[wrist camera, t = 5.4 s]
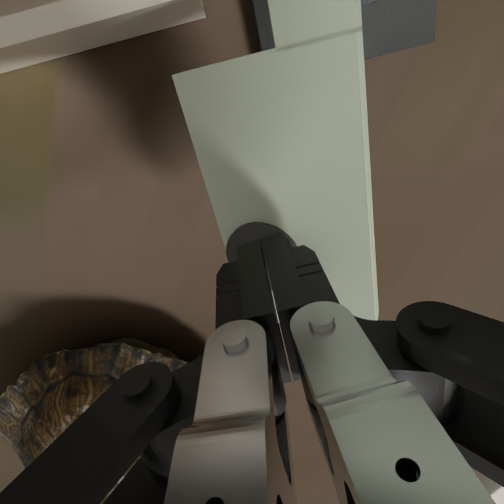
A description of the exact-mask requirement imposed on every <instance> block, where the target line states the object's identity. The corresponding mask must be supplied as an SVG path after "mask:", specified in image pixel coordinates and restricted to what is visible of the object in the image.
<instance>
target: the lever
mask: <svg viewBox="0 0 504 504" xmlns="http://www.w3.org/2000/svg"><path fill="white" fill-rule="evenodd" d="M268 6H269V12H270V18H271V24H272V30H273V36H274V42H275V48H272V49H268V50H264V51H261V52H257V53H253V54H249V55H245V56H241V57H238V58H234V59H230V60H226V61H222V62H218V63H215V64H211V65H207V66H203V67H199V68H195V69H191V70H188V71H184V72H181V73H177V74H174V75H172V78H173V81H174V85H175V88H176V91H177V94H178V98H179V101H180V104H181V107H182V110H183V114H184V117H185V120H186V123H187V127H188V130H189V133H190V136H191V140H192V143H193V146H194V149H195V152H196V156H197V159H198V162H199V165H200V169H201V172H202V175H203V178H204V182H205V185H206V188H207V191H208V194H209V198H210V201H211V204H212V207H213V211H214V214H215V217H216V220H217V224H218V227H219V230H220V233H221V236H222V240H223V243H224V246H225V249H226V255H227V259H228V261H229V262H233V261H238V260H237V248H236V245H237V244H242V243H246V242H250V241H254V240H259V242H260V246H261V250H262V254H263V258H264V262H265V266H266V270H267V274H268V278H269V273H268V269H267V264H266V260H265V255H264V251H263V246H262V242H261V239H262V238H267V237H271V236H275V235H279V234H284V236H285V239H286V242H287V245H288V247H289V248H293V247H297V246H301V245H305V246H307V247H308V248H310V249H311V250H313V251H315V253H316V255H317V257H318V259H319V262H320V264H321V266H322V268H323V270H324V272H325V274H326V276H327V278H328V280H329V282H330V284H331V286H332V288H333V290H334V293H335V295H336V297H337V299H338V301H339V303H340V305H343V306H344V307H346V308H347V309H348V310H349V311H350V312H351V313H352V314H353V315H354V316H356V317H359V318H362V319H367V320H378V314H379V310H378V292H377V275H376V258H375V240H374V223H373V205H372V188H371V171H370V153H369V136H368V118H367V101H366V84H365V66H364V49H363V32H362V14H361V0H268ZM269 282H270V278H269ZM270 287H271V282H270ZM271 291H272V287H271ZM272 295H273V292H272ZM273 300H274V296H273ZM274 304H275V301H274ZM275 309H276V305H275ZM276 313H277V310H276ZM277 318H278V314H277ZM278 323H280V322H279V318H278Z"/></svg>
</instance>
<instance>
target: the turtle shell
mask: <svg viewBox="0 0 504 504" xmlns="http://www.w3.org/2000/svg"><path fill="white" fill-rule="evenodd" d="M147 362H160V363H163V364H165V365H167V366H168V367H169V368H170V370H171V372H172V371H174V370H176V369H178V368H180V367H182V366H184V365H186V364H188V363H187V362H185V361H183V360H181V359H180V358H179V357H178V356H176V355H175V354H173V353H172V352H171V351H169V350H168V349H166V348H158V347H155V346H152V345H149V344H146V343H144V342H141V341H139V340H137V339H132V338H122V339H119V340H116V341H113V342H110V343H107V344H98V345H96V346H94V347H91V348H88V347H85V348H80V349H74V350H69V349H66V350H61V351H59V352H54V353H50V354H47V355H45V356H44V357H43V358H42V359H41V361H37V362H34V363H33V364H32V365H31V367H30V368H29V370H28V371H27V372H25V373H22V374H20V377H19V378H18V379H17V383H16V384H12V385H8V386H7V389H6V391H5V392H4V393H3V394H2V395H0V435H1V436H2V437H3V438H4V439H5V440H6V441H7V442H8V444H9V445H10V446H11V447H12V448H13V449H14V450H15V451H16V453H17V454H18V456H19V458H20V460H21V461H22V463H23V465H24V467H25V468H27V467H28V466H29V465H30V464H31V463H32V462H33V461H34V460H35V459H36V458H37V457H38V456H39V455H40V454H41V453H42V452H43V451H44V450H45V449H46V448H47V447H48V446H49V445H50V444H51V443H52V442H53V441H54V440H55V439H57V438H58V437H59V436H60V435H61V434H62V433H63V432H64V431H65V430H66V429H67V428H68V427H69V426H70V425H71V424H72V423H73V422H74V421H75V420H76V419H77V418H78V417H79V416H80V415H81V414H82V413H83V412H84V411H85V410H86V409H87V408H88V407H89V406H91V405H92V404H93V403H94V402H95V401H96V400H97V399H98V398H99V397H100V396H101V395H102V394H103V393H104V392H105V391H106V390H107V389H108V388H109V387H110V386H111V385H112V384H113V383H114V382H115V381H116V380H117V379H118V378H119V377H121V376H122V375H123V374H124V373H125V372H127V371H128V370H130V369H131V368H133V367H135V366H137V365H140V364H143V363H147ZM139 458H140V457H138V458H137V459H136V461H135V462H134V463H133V464H132V465H131V467H130V468H129V469H128V470H127V471H126V473H125V474H124V475H123V476H122V478H121V479H120V480H119V481H118V482H117V484H116V485H115V486H114V487H113V489H112V490H111V491H110V492H109V493H108V495H107V496H106V497H105V498H104V499H103V501H102V502H101V503H100V504H103V502H104V501H105V500H106V499H107V497H108V496H109V495H110V494H111V493H112V491H113V490H114V489H115V488H116V486H117V485H118V484H119V483H120V482H121V480H122V479H123V478H124V477H125V475H126V474H127V473H128V472H129V471H130V469H131V468H132V467H133V466H134V464H135V463H136V462H137V461H138V460H139Z"/></svg>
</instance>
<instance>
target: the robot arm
mask: <svg viewBox="0 0 504 504" xmlns="http://www.w3.org/2000/svg"><path fill="white" fill-rule="evenodd" d="M261 242H262V246H263V251H264V255H265V260H266V264H267V269H268V273H269V278H270V282H271V287H272V291H271V287H270V282H269V278H268V274H267V270H266V266H265V262H264V258H263V254H262V250H261V246H260V242H259V240H254V241H250V242H246V243H242V244H237V245H236V248H237V260H238V261H233V262H229V263H225V264H223V265H222V267H221V268H220V270H219V272H218V273H217V278H216V286H217V288H216V296H217V297H216V330H215V331H214V332H213V333H212V334H211V335H210V336H209V338H208V339H207V341H206V344H205V349H204V353H203V354H202V355H201V356H200V357H198V358H197V359H195V360H194V361H192V362H190V363H188V364H186V365H184V366H182V367H180V368H178V369H176V370H174V371H172V372H171V370H170V368H169V367H168V366H167V365H165V364H163V363H160V362H147V363H143V364H140V365H137V366H135V367H133V368H131V369H130V370H128V371H127V372H125V373H124V374H123V375H122V376H121V377H119V378H118V379H117V380H116V381H115V382H114V383H113V384H112V385H111V386H110V387H109V388H108V389H107V390H106V391H105V392H104V393H103V394H102V395H101V396H100V397H99V398H98V399H97V400H96V401H95V402H94V403H93V404H92V405H91V406H89V407H88V408H87V409H86V410H85V411H84V412H83V413H82V414H81V415H80V416H79V417H78V418H77V419H76V420H75V421H74V422H73V423H72V424H71V425H70V426H69V427H68V428H67V429H66V430H65V431H64V432H63V433H62V434H61V435H60V436H59V437H58V438H57V439H55V440H54V441H53V442H52V443H51V444H50V445H49V446H48V447H47V448H46V449H45V450H44V451H43V452H42V453H41V454H40V455H39V456H38V457H37V458H36V459H35V460H34V461H33V462H32V463H31V464H30V465H29V466H28V467H27V468H26V469H25V470H24V471H22V472H21V473H20V474H19V475H18V476H17V477H16V478H15V479H14V480H13V481H12V482H11V483H10V484H9V485H8V486H7V487H6V488H5V489H4V490H3V491H2V492H1V493H0V504H100V503H101V502H102V501H103V499H104V498H105V497H106V496H107V495H108V493H109V492H110V491H111V490H112V489H113V487H114V486H115V485H116V484H117V482H118V481H119V480H120V479H121V478H122V476H123V475H124V474H125V473H126V471H127V470H128V469H129V468H130V467H131V465H132V464H133V463H134V462H135V461H136V459H137V458H138V457H140V458H139V460H138V461H137V462H136V463H135V464H134V466H133V467H132V468H131V469H130V471H129V472H128V473H127V474H126V475H125V477H124V478H123V479H122V480H121V482H120V483H119V484H118V485H117V486H116V488H115V489H114V490H113V491H112V493H111V494H110V495H109V496H108V497H107V499H106V500H105V501H104V502H103V504H297V499H296V492H295V483H294V473H293V464H292V454H291V444H290V435H289V425H288V415H287V410H286V395H285V390H284V385H283V383H286V382H291V378H290V373H289V369H288V364H287V359H286V355H285V350H284V346H283V341H282V336H281V332H280V327H279V323H278V318H279V322H280V326H281V330H282V334H283V338H284V343H285V347H286V351H287V355H288V359H289V363H290V367H291V371H292V375H293V380H294V381H295V380H299V379H301V380H302V384H303V388H304V392H305V395H306V400H307V404H308V409H309V412H310V415H311V418H312V421H313V423H314V426H315V429H316V432H317V435H318V438H319V441H320V444H321V447H322V450H323V453H324V456H325V459H326V462H327V465H328V468H329V471H330V474H331V477H332V480H333V483H334V486H335V489H336V492H337V496H338V499H339V503H340V504H496V503H495V502H494V500H493V499H492V498H491V496H490V495H489V493H488V492H487V490H486V489H485V487H484V486H483V485H482V483H481V482H480V480H479V479H478V477H477V476H476V474H475V473H474V472H473V470H472V469H471V467H472V468H474V469H475V470H477V471H479V472H480V473H482V474H483V475H485V476H487V477H488V478H490V479H492V480H493V481H495V482H496V483H498V484H500V485H501V486H503V487H504V322H501V321H498V320H495V319H492V318H489V317H486V316H483V315H480V314H476V313H473V312H470V311H467V310H464V309H461V308H458V307H455V306H452V305H449V304H446V303H441V302H434V301H423V302H417V303H413V304H411V305H408V306H406V307H405V308H403V309H402V310H401V311H400V312H399V314H398V316H397V318H396V321H378V320H367V319H362V318H359V317H356V316H354V315H353V314H352V313H351V312H350V311H349V310H348V309H347V308H346V307H344V306H343V305H340V303H339V301H338V299H337V297H336V295H335V293H334V290H333V288H332V286H331V284H330V282H329V280H328V278H327V276H326V274H325V272H324V270H323V268H322V266H321V264H320V262H319V259H318V257H317V255H316V253H315V251H313V250H311V249H310V248H308V247H307V246H305V245H301V246H297V247H293V248H289V247H288V245H287V242H286V239H285V236H284V234H279V235H275V236H271V237H267V238H262V239H261ZM272 292H273V295H272ZM273 296H274V300H273ZM274 301H275V304H274ZM275 305H276V309H275ZM276 310H277V313H276ZM277 314H278V318H277Z"/></svg>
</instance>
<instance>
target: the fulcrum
mask: <svg viewBox="0 0 504 504" xmlns="http://www.w3.org/2000/svg"><path fill="white" fill-rule="evenodd" d="M251 2H252V7H253V13H254V18H255V23H256V29H257V34H258V39H259V45H260V50H261V51H264V50H268V49H272V48H275V42H274V36H273V30H272V24H271V18H270V12H269V6H268V0H251ZM361 14H362V32H363V49H364V60H365V59H369V58H372V57H376V56H380V55H384V54H388V53H392V52H396V51H399V50H403V49H407V48H411V47H415V46H419V45H422V44H426V43H430V42H434V41H435V18H436V0H361Z"/></svg>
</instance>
